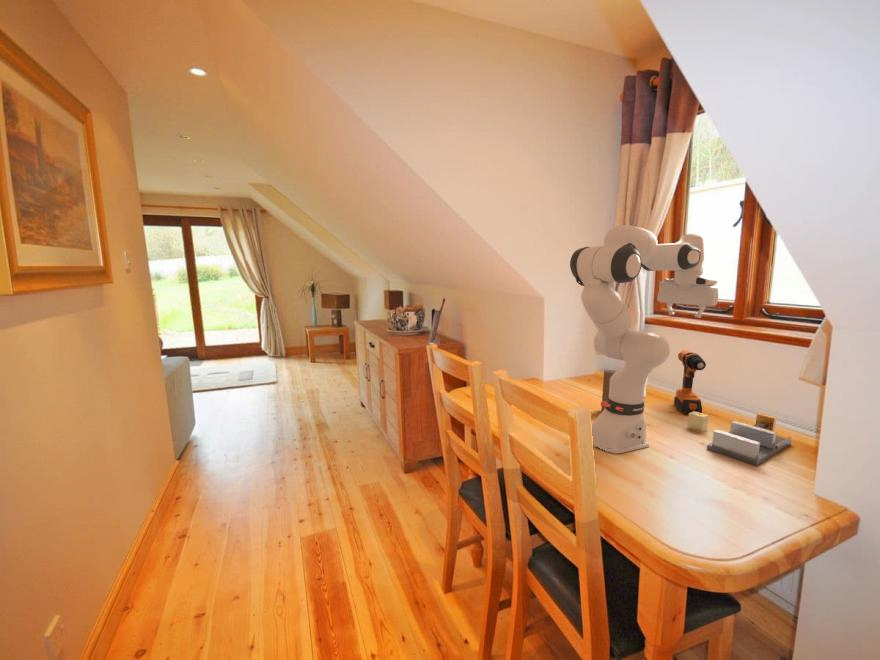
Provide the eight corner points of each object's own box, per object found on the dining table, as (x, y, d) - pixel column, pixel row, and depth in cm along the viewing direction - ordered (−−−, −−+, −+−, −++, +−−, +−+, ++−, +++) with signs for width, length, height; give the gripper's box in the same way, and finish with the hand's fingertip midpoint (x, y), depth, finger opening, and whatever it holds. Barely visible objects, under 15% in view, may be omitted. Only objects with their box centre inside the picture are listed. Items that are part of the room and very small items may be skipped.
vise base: (756, 466, 124) (759, 446, 123) (706, 449, 136) (708, 430, 135) (790, 444, 139) (793, 426, 138) (743, 430, 151) (745, 413, 150)
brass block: (701, 432, 149) (703, 417, 148) (687, 428, 153) (688, 413, 152) (706, 430, 151) (708, 415, 150) (692, 426, 155) (694, 411, 154)
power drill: (708, 421, 159) (715, 359, 155) (687, 420, 161) (693, 358, 157) (690, 403, 180) (696, 348, 176) (672, 402, 182) (677, 347, 178)
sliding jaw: (771, 448, 132) (774, 428, 131) (729, 435, 142) (731, 417, 141) (786, 439, 139) (789, 420, 138) (745, 427, 149) (747, 410, 148)
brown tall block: (624, 413, 168) (628, 371, 165) (624, 417, 164) (628, 374, 161) (601, 410, 172) (604, 369, 169) (601, 413, 168) (603, 371, 165)
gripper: (655, 278, 158) (652, 313, 160) (714, 280, 141) (709, 319, 143) (664, 278, 161) (661, 312, 163) (722, 280, 144) (718, 318, 146)
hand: (684, 316), depth 153 cm, fingers open, 8 cm apart
